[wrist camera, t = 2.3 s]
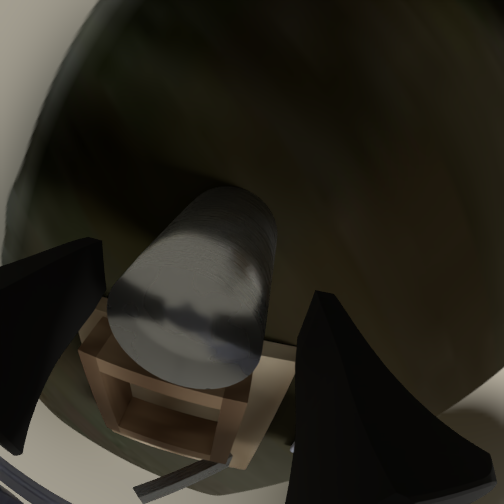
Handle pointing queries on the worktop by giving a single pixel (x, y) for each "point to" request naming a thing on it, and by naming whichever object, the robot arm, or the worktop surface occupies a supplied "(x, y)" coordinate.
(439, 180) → the worktop surface
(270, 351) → the socket board
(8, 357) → the robot arm
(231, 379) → the steel peg
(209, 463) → the bar
